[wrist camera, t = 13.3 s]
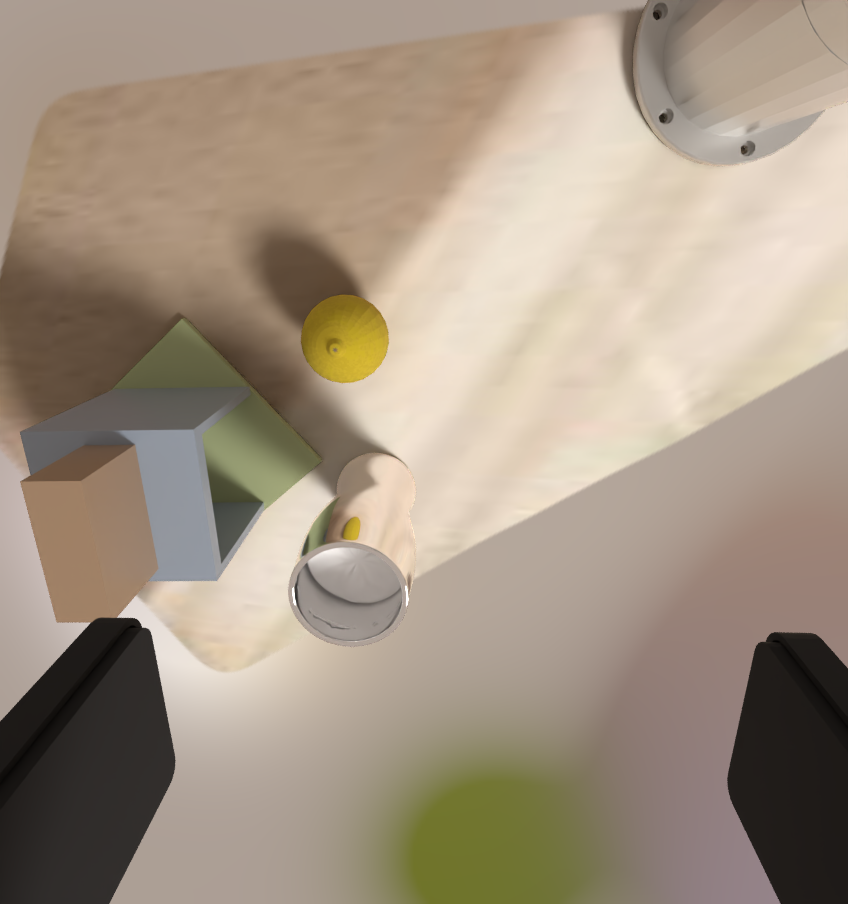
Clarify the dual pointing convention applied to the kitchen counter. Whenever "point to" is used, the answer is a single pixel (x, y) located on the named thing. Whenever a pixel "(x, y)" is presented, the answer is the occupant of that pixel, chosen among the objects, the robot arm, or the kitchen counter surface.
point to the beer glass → (358, 555)
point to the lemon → (344, 338)
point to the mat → (228, 421)
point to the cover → (129, 497)
